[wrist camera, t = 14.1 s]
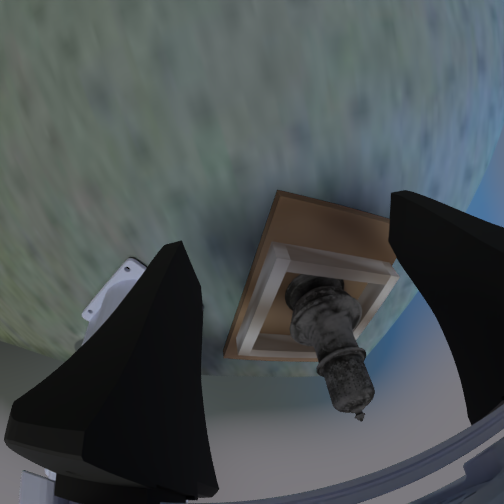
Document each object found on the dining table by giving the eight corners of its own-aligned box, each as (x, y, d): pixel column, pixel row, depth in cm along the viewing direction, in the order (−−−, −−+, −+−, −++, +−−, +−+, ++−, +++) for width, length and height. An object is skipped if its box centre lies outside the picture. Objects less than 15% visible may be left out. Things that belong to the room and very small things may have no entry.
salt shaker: (272, 280, 23) (307, 425, 13) (341, 254, 22) (409, 385, 13) (291, 323, 26) (323, 444, 17) (350, 301, 26) (401, 415, 16)
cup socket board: (324, 354, 32) (331, 375, 30) (223, 350, 29) (224, 374, 27) (405, 224, 23) (424, 243, 20) (277, 189, 20) (286, 209, 17)
